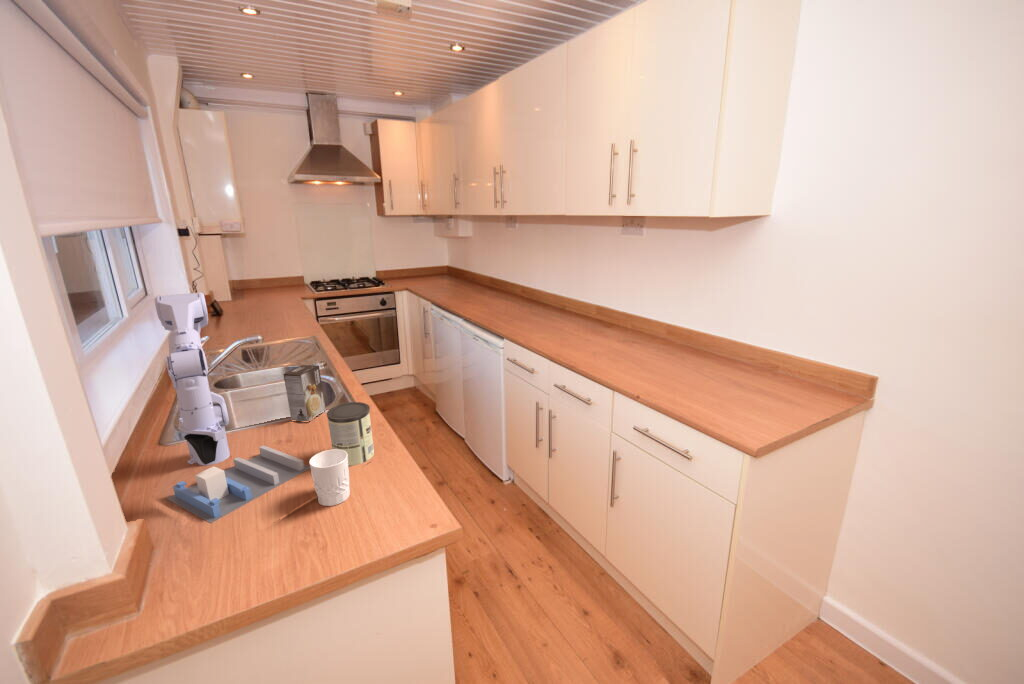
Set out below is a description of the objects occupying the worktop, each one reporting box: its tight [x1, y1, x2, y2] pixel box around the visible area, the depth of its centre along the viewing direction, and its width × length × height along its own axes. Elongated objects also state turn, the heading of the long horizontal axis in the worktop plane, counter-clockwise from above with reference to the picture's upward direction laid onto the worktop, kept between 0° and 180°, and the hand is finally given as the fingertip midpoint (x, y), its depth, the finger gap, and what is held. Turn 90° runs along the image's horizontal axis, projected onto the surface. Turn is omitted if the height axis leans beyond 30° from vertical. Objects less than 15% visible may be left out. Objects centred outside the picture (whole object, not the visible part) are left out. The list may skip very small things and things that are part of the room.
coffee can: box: [326, 401, 375, 467], centre depth 115 cm, size 10×10×14 cm
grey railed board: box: [166, 445, 311, 524], centre depth 105 cm, size 18×24×4 cm
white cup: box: [308, 449, 351, 507], centre depth 99 cm, size 8×8×10 cm
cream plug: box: [194, 466, 229, 500], centre depth 99 cm, size 4×4×6 cm
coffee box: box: [283, 364, 327, 421], centre depth 141 cm, size 9×6×16 cm
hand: (209, 461), depth 98 cm, fingers closed
